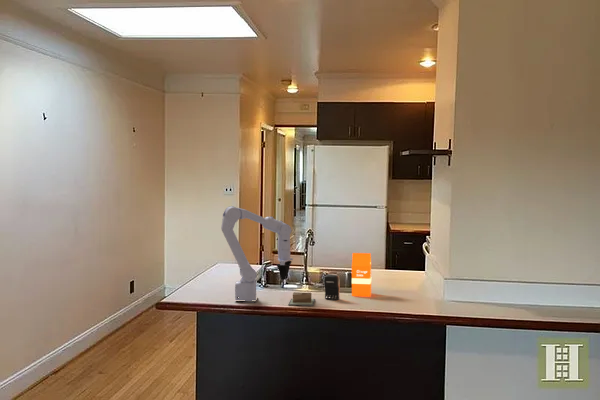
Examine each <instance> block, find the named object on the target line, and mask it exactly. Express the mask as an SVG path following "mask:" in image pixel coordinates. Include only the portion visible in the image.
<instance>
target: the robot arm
mask: <svg viewBox="0 0 600 400" xmlns="http://www.w3.org/2000/svg"><path fill="white" fill-rule="evenodd" d="M244 219H248V220H250V221H253V222H256V223H259V224H260V225H262V227H263V229H265V230H268V231H271V232H273V233H277V261H278V262H279V263H278V264H276V267H277V270H278V272H279V276H280V281H286V279H287V277H289V273H290V272H289V271H290V266H291V264H292V262H293V260H294V258H293V257H291V234H292V231H293V230H292V228H291V226H290V224H287V223H285V222H283V221H282V220H279V219H275V218H274V217H273V216H266V217H264V216H261V215H258V213H255V212H252V211H250V210H247V209H244V208H240V207H236V206H232V205H231V206H227V207H226V208H225V209H224V211H223V213H222V221H221V232H222V233H223V236H224V238H225V240H226V242H227V245H228V246H229V248H230V250H231V252H232V255H233V256H234V258H235V260H236V263H237V264H238V268H239V274H240V276H241V279H240V280H237V281H236V282H235V286H234V291H235V292H234V295H235V296H234V298H235V299H234V300H245V301H252V300H256V297H257V279H256V278H257V275H258V274H257V271H256V270H255V269H254V268H253V267H252V266H251V264H250V262H249V260H248V258H247V256H246V254H245V252H244V250H243V248H242V246H241V244H240V241H239V239H238V237H237V235H236V233H235V231H234V227H235V225H236V223H237V222H238V221H239V220H244ZM238 297H239V298H238Z"/></svg>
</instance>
